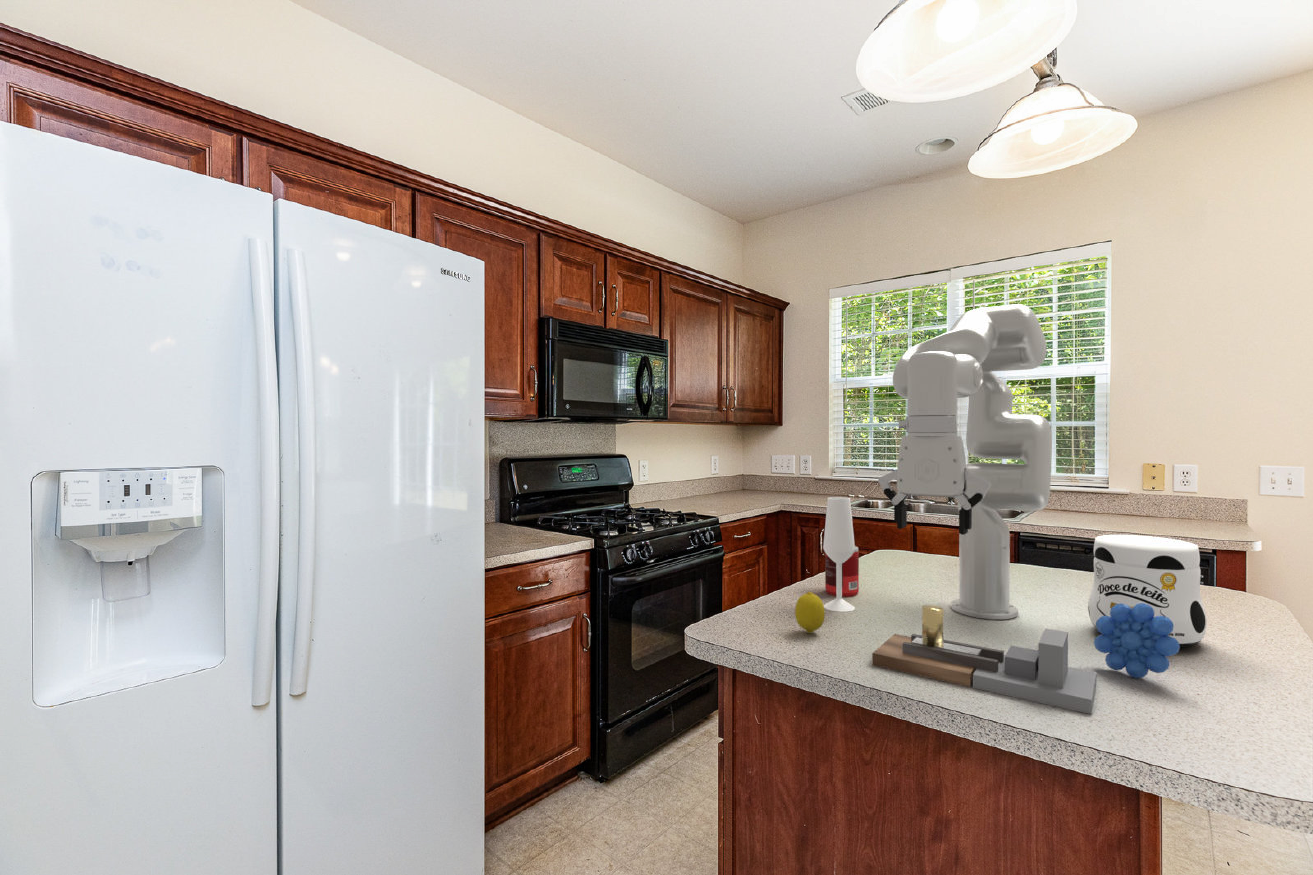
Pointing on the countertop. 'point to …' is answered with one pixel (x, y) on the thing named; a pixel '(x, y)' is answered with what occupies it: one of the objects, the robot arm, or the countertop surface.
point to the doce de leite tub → (1150, 581)
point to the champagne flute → (839, 544)
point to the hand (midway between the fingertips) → (931, 530)
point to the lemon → (810, 612)
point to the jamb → (1041, 675)
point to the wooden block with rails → (935, 660)
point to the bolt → (938, 632)
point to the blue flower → (1136, 640)
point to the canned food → (843, 575)
